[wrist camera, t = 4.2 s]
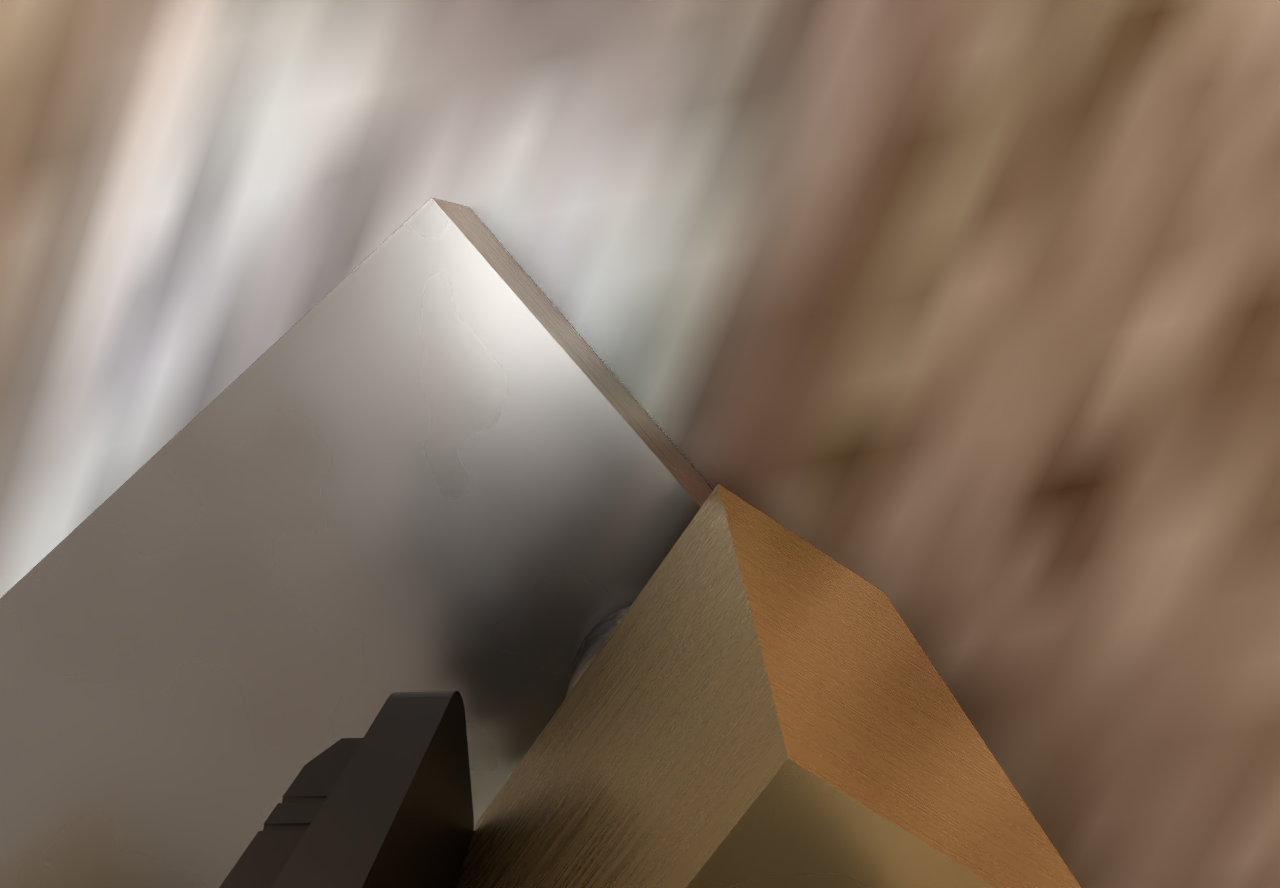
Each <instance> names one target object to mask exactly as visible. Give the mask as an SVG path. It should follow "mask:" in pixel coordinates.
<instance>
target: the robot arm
mask: <svg viewBox="0 0 1280 888" xmlns="http://www.w3.org/2000/svg"><path fill="white" fill-rule="evenodd" d="M473 832H474V817H473V803H472V791H471V779H470V767H469V754H468V742H467V730H466V718H465V708H464V703H463V699H462V696H461V694H460V692H459V691H426V692H394V693H392V694H390V696H389V697H388V698H387V700H386V702H385V703H384V705H383V707H382V708H381V710H380V711H379V713H378V715H377V716H376V718H375V720H374V721H373V723H372V724H371V726H370V728H369V729H368V731H367V733H366V734H365V736H364V738H341V739H340V740H339V741H337V742H336V743H334V744H333V745H332V746H330V747H329V748H328V749H326V750H325V751H323V752H322V753H321V754H319V755H318V756H317V757H315V758H314V759H312V760H311V761H310V762H308V763H307V764H305V765H304V767H303V768H302V770H301V771H300V772H299V774H298V775H297V777H296V778H295V780H294V781H293V782H292V784H291V785H290V787H289V788H288V790H287V791H286V792H285V794H284V795H283V800H282V803H278V804H277V805H276V807H275V808H274V810H273V811H272V813H271V814H270V815H269V817H268V818H267V820H266V821H265V823H264V828H263V831H258V833H257V834H256V835H255V837H254V838H253V840H252V841H251V843H250V844H249V845H248V847H247V848H246V850H245V851H244V853H243V854H242V856H241V857H240V858H239V860H238V861H237V863H236V864H235V866H234V867H233V868H232V870H231V871H230V873H229V874H228V876H227V877H226V878H225V880H224V881H223V883H222V884H221V886H220V887H219V888H456V885H457V882H458V879H459V876H460V873H461V869H462V866H463V863H464V860H465V857H466V854H467V851H468V847H469V844H470V841H471V838H472V835H473Z"/></svg>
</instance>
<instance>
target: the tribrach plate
mask: <svg viewBox="0 0 1280 888" xmlns="http://www.w3.org/2000/svg"><path fill="white" fill-rule="evenodd" d="M712 491H713V490H712V488H711V487H710V486H709V485H708V484H707V483H706V481H705V480H704V479H703V478H702V477H701V476H700V475H699V473H698V472H697V471H696V470H695V469H694V468H693V466H692V465H691V464H690V463H689V462H688V461H687V459H686V458H685V457H684V456H683V455H682V454H681V452H680V451H679V450H678V449H677V448H676V447H675V445H674V444H673V443H672V442H671V441H670V440H669V439H668V437H667V436H666V435H665V434H664V433H663V432H662V430H661V429H660V428H659V427H658V426H657V425H656V423H655V422H654V421H653V420H652V419H651V418H650V416H649V415H648V414H647V413H646V412H645V411H644V410H643V408H642V407H641V406H640V405H639V404H638V403H637V401H636V400H635V399H634V398H633V397H632V396H631V394H630V393H629V392H628V391H627V390H626V389H625V387H624V386H623V385H622V384H621V383H620V382H619V380H618V379H617V378H616V377H615V376H614V375H613V374H612V372H611V371H610V370H609V369H608V368H607V367H606V365H605V364H604V363H603V362H602V361H601V360H600V358H599V357H598V356H597V355H596V354H595V353H594V351H593V350H592V349H591V348H590V347H589V346H588V345H587V343H586V342H585V341H584V340H583V339H582V338H581V336H580V335H579V334H578V333H577V332H576V331H575V329H574V328H573V327H572V326H571V325H570V324H569V322H568V321H567V320H566V319H565V318H564V317H563V315H562V314H561V313H560V312H559V311H558V310H557V309H556V307H555V306H554V305H553V304H552V303H551V302H550V300H549V299H548V298H547V297H546V296H545V295H544V293H543V292H542V291H541V290H540V289H539V288H538V286H537V285H536V284H535V283H534V282H533V281H532V280H531V278H530V277H529V276H528V275H527V274H526V273H525V271H524V270H523V269H522V268H521V267H520V266H519V264H518V263H517V262H516V261H515V260H514V259H513V257H512V256H511V255H510V254H509V253H508V252H507V250H506V249H505V248H504V247H503V246H502V245H501V244H500V242H499V241H498V240H497V239H496V238H495V237H494V235H493V234H492V233H491V232H490V231H489V230H488V228H487V227H486V226H485V225H484V224H483V223H482V221H481V220H480V219H479V218H478V217H477V216H476V215H475V213H474V212H473V211H472V210H471V209H470V208H469V207H467V206H463V205H459V204H455V203H451V202H447V201H443V200H439V199H435V198H430V199H429V200H428V201H427V202H426V203H425V204H424V205H423V206H422V207H421V208H420V209H419V210H418V211H416V212H415V213H414V214H413V215H412V216H411V217H410V218H409V219H408V220H407V221H406V222H405V223H404V224H403V225H401V226H400V227H399V228H398V229H397V230H396V231H395V232H394V233H393V234H392V235H391V236H390V237H389V238H387V239H386V240H385V241H384V242H383V243H382V244H381V245H380V246H379V247H378V248H377V249H376V250H375V251H373V252H372V253H371V254H370V255H369V256H368V257H367V258H366V259H365V260H364V261H363V262H362V263H361V264H360V265H358V266H357V267H356V268H355V269H354V270H353V271H352V272H351V273H350V274H349V275H348V276H347V277H346V278H344V279H343V280H342V281H341V282H340V283H339V284H338V285H337V286H336V287H335V288H334V289H333V290H332V291H331V292H329V293H328V294H327V295H326V296H325V297H324V298H323V299H322V300H321V301H320V302H319V303H318V304H317V305H315V306H314V307H313V308H312V309H311V310H310V311H309V312H308V313H307V314H306V315H305V316H304V317H303V318H302V319H300V320H299V321H298V322H297V323H296V324H295V325H294V326H293V327H292V328H291V329H290V330H289V331H288V332H286V333H285V334H284V335H283V336H282V337H281V338H280V339H279V340H278V341H277V342H276V343H275V344H274V345H272V346H271V347H270V348H269V349H268V350H267V351H266V352H265V353H264V354H263V355H262V356H261V357H260V358H259V359H257V360H256V361H255V362H254V363H253V364H252V365H251V366H250V367H249V368H248V369H247V370H246V371H245V372H243V373H242V374H241V375H240V376H239V377H238V378H237V379H236V380H235V381H234V382H233V383H232V384H231V385H230V386H228V387H227V388H226V389H225V390H224V391H223V392H222V393H221V394H220V395H219V396H218V397H217V398H216V399H214V400H213V401H212V402H211V403H210V404H209V405H208V406H207V407H206V408H205V409H204V410H203V411H202V412H201V413H199V414H198V415H197V416H196V417H195V418H194V419H193V420H192V421H191V422H190V423H189V424H188V425H187V426H185V427H184V428H183V429H182V430H181V431H180V432H179V433H178V434H177V435H176V436H175V437H174V438H173V439H172V440H170V441H169V442H168V443H167V444H166V445H165V446H164V447H163V448H162V449H161V450H160V451H159V452H158V453H156V454H155V455H154V456H153V457H152V458H151V459H150V460H149V461H148V462H147V463H146V464H145V465H144V466H142V467H141V468H140V469H139V470H138V471H137V472H136V473H135V474H134V475H133V476H132V477H131V478H130V479H129V480H127V481H126V482H125V483H124V484H123V485H122V486H121V487H120V488H119V489H118V490H117V491H116V492H115V493H113V494H112V495H111V496H110V497H109V498H108V499H107V500H106V501H105V502H104V503H103V504H102V505H101V506H100V507H98V508H97V509H96V510H95V511H94V512H93V513H92V514H91V515H90V516H89V517H88V518H87V519H86V520H84V521H83V522H82V523H81V524H80V525H79V526H78V527H77V528H76V529H75V530H74V531H73V532H72V533H71V534H69V535H68V536H67V537H66V538H65V539H64V540H63V541H62V542H61V543H60V544H59V545H58V546H57V547H55V548H54V549H53V550H52V551H51V552H50V553H49V554H48V555H47V556H46V557H45V558H44V559H43V560H42V561H40V562H39V563H38V564H37V565H36V566H35V567H34V568H33V569H32V570H31V571H30V572H29V573H28V574H26V575H25V576H24V577H23V578H22V579H21V580H20V581H19V582H18V583H17V584H16V585H15V586H14V587H12V588H11V589H10V590H9V591H8V592H7V593H6V594H5V595H4V596H3V597H2V598H1V599H0V888H219V887H220V886H221V884H222V883H223V881H224V880H225V878H226V877H227V876H228V874H229V873H230V871H231V870H232V868H233V867H234V866H235V864H236V863H237V861H238V860H239V858H240V857H241V856H242V854H243V853H244V851H245V850H246V848H247V847H248V845H249V844H250V843H251V841H252V840H253V838H254V837H255V835H256V834H257V833H258V831H263V828H264V823H265V821H266V820H267V818H268V817H269V815H270V814H271V813H272V811H273V810H274V808H275V807H276V805H277V804H278V803H282V800H283V795H284V794H285V792H286V791H287V790H288V788H289V787H290V785H291V784H292V782H293V781H294V780H295V778H296V777H297V775H298V774H299V772H300V771H301V770H302V768H303V767H304V765H305V764H307V763H308V762H310V761H311V760H312V759H314V758H315V757H317V756H318V755H319V754H321V753H322V752H323V751H325V750H326V749H328V748H329V747H330V746H332V745H333V744H334V743H336V742H337V741H339V740H340V739H341V738H364V736H365V734H366V733H367V731H368V729H369V728H370V726H371V724H372V723H373V721H374V720H375V718H376V716H377V715H378V713H379V711H380V710H381V708H382V707H383V705H384V703H385V702H386V700H387V698H388V697H389V696H390V694H392V693H394V692H426V691H459V692H460V694H461V696H462V699H463V703H464V708H465V718H466V730H467V742H468V754H469V767H470V779H471V791H472V803H473V817H474V826H475V825H476V823H477V822H478V820H479V819H480V818H481V816H482V815H483V813H484V812H485V811H486V809H487V808H488V806H489V805H490V804H491V802H492V801H493V799H494V798H495V796H496V795H497V794H498V792H499V791H500V789H501V788H502V787H503V785H504V784H505V782H506V781H507V780H508V778H509V777H510V775H511V774H512V773H513V771H514V770H515V768H516V767H517V766H518V764H519V763H520V761H521V760H522V759H523V757H524V756H525V754H526V753H527V751H528V750H529V749H530V747H531V746H532V744H533V743H534V742H535V740H536V739H537V737H538V736H539V735H540V733H541V732H542V730H543V729H544V728H545V726H546V725H547V723H548V722H549V721H550V719H551V718H552V716H553V715H554V713H555V712H556V711H557V709H558V708H559V706H560V705H561V704H562V702H563V701H564V699H565V698H566V693H567V689H568V684H569V679H570V674H571V670H572V666H573V662H574V658H575V655H576V653H577V651H578V648H579V647H580V645H581V643H582V642H583V640H584V638H585V637H586V636H587V635H588V633H589V632H590V631H591V630H592V629H593V628H594V627H595V626H596V625H597V624H598V623H599V622H600V621H602V620H603V619H605V618H606V617H607V616H609V615H611V614H613V613H615V612H616V611H618V610H621V609H623V608H626V607H629V606H631V605H632V604H633V602H634V601H635V600H636V598H637V597H638V595H639V594H640V592H641V591H642V590H643V588H644V587H645V585H646V584H647V583H648V581H649V580H650V578H651V577H652V576H653V574H654V573H655V571H656V570H657V569H658V567H659V566H660V564H661V563H662V562H663V560H664V559H665V557H666V556H667V555H668V553H669V552H670V550H671V549H672V547H673V546H674V545H675V543H676V542H677V540H678V539H679V538H680V536H681V535H682V533H683V532H684V531H685V529H686V528H687V526H688V525H689V524H690V522H691V521H692V519H693V518H694V517H695V515H696V514H697V512H698V511H699V509H700V508H701V507H702V505H703V504H704V502H705V501H706V500H707V498H708V497H709V495H710V494H711V493H712Z"/></svg>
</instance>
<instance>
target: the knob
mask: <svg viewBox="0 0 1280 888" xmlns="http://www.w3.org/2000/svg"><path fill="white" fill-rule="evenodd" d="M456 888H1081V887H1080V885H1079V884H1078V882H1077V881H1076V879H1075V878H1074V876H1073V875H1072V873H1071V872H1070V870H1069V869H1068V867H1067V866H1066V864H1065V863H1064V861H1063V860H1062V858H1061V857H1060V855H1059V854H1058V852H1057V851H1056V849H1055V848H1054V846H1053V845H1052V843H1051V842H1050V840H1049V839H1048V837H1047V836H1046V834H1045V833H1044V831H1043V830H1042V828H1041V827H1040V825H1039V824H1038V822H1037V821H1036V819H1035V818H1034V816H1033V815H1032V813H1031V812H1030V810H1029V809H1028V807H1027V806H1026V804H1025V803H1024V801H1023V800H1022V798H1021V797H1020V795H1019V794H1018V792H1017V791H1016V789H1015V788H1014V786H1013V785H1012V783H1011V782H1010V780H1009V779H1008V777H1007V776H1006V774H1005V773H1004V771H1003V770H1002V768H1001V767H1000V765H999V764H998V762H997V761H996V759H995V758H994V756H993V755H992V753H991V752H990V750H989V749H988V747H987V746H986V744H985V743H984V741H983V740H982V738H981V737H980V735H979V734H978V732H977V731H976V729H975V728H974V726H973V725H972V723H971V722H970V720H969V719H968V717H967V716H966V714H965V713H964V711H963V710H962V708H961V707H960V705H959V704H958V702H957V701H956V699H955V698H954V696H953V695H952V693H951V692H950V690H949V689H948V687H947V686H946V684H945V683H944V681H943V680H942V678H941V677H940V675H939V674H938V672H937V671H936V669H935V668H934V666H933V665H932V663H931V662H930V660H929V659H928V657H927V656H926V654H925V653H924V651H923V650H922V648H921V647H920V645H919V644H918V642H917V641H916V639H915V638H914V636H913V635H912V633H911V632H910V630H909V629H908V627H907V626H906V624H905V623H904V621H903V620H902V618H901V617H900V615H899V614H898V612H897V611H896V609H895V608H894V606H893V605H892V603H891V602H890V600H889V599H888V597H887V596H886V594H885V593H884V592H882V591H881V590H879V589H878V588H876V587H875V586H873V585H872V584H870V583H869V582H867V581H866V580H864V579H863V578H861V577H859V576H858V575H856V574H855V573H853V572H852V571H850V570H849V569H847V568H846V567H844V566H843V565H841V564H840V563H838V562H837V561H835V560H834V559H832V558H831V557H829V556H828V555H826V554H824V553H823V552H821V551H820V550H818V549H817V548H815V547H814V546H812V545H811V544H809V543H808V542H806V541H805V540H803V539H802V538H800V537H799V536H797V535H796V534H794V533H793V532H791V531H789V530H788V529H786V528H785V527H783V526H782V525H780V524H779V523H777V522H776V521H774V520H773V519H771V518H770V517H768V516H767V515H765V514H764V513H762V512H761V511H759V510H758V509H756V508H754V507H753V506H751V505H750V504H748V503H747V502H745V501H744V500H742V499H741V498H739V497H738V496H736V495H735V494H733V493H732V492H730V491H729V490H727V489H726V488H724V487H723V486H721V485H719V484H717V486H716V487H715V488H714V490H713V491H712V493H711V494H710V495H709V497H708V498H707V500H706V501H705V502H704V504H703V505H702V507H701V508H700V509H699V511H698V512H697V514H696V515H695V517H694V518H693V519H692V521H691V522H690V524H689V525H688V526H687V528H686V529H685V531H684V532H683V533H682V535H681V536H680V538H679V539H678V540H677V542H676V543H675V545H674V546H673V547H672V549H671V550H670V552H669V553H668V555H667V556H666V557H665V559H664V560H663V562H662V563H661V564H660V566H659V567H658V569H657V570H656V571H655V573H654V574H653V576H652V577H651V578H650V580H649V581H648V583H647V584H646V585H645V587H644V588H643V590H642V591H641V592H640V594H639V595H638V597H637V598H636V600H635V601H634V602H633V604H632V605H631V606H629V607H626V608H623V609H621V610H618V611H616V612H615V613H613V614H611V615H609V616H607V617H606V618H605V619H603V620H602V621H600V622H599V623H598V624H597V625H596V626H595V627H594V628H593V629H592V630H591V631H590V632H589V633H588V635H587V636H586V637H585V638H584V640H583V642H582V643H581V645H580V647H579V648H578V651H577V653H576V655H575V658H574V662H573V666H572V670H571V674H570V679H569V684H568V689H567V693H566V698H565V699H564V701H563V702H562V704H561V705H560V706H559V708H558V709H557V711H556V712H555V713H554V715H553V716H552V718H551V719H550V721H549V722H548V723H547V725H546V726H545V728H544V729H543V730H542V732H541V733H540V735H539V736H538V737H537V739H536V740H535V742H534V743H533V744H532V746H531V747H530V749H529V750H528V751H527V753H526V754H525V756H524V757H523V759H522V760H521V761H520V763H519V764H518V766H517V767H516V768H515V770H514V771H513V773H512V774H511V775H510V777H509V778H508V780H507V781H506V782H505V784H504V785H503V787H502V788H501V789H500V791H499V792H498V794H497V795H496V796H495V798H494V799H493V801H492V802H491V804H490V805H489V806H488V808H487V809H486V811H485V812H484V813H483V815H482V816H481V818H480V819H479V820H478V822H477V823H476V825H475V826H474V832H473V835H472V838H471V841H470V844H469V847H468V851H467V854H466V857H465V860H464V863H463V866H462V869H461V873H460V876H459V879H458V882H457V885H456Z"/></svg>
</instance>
